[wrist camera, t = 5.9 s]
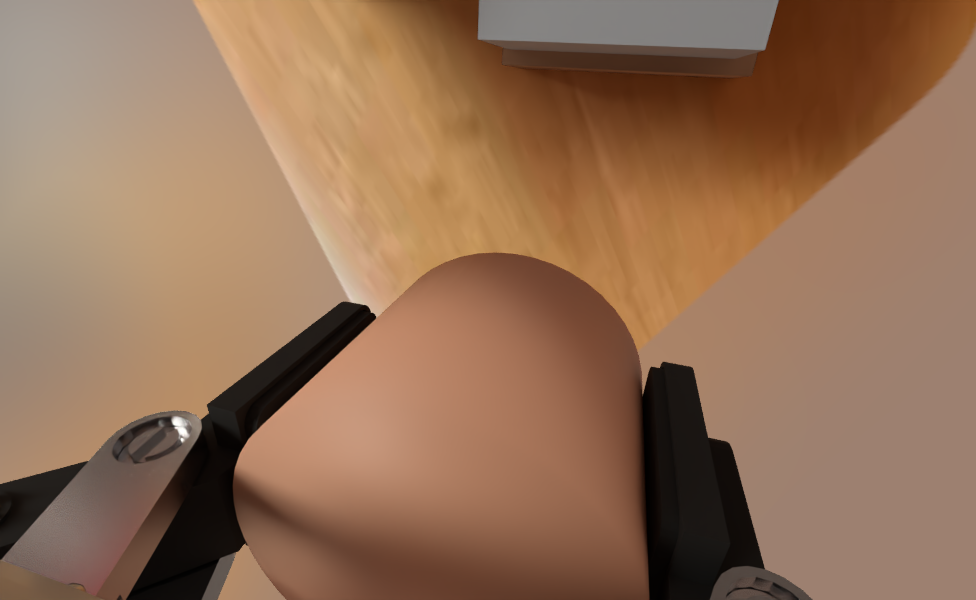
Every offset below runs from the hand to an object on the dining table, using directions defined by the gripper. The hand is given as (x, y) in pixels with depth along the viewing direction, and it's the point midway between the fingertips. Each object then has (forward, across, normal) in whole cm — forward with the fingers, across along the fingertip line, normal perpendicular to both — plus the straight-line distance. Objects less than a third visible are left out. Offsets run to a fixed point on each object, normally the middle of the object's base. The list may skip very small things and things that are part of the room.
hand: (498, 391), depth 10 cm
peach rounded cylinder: (+1, 0, 0) cm, 1 cm away
